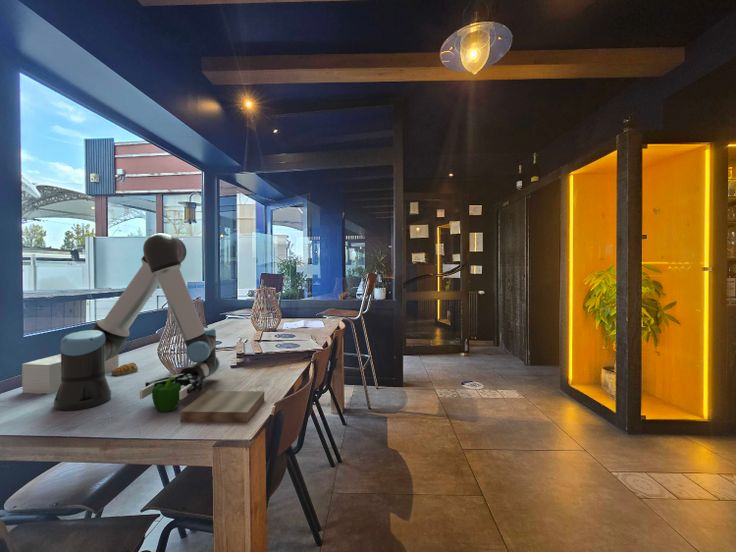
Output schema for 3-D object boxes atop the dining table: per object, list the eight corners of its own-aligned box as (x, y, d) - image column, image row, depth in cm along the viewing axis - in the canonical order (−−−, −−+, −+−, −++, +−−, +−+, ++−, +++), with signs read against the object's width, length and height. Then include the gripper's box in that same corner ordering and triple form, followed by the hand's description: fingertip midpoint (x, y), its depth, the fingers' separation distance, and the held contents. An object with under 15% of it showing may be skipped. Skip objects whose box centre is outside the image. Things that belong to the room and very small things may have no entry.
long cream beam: (96, 368, 161) (96, 344, 160) (118, 369, 160) (118, 345, 159) (22, 393, 129) (22, 363, 128) (49, 394, 128) (49, 364, 128)
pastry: (118, 377, 148) (118, 368, 148) (107, 375, 151) (107, 366, 150) (139, 371, 157) (139, 362, 157) (128, 369, 159) (128, 361, 159)
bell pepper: (155, 416, 110) (155, 384, 110) (149, 408, 116) (149, 378, 116) (184, 409, 115) (184, 379, 115) (177, 402, 122) (177, 373, 121)
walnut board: (180, 421, 107) (180, 411, 107) (207, 399, 125) (207, 390, 125) (247, 422, 107) (247, 412, 107) (264, 400, 125) (264, 391, 125)
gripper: (225, 384, 134) (198, 407, 112) (161, 383, 134) (122, 406, 112) (226, 364, 134) (198, 383, 112) (161, 364, 133) (122, 382, 112)
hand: (160, 394), depth 112 cm, fingers open, 12 cm apart
